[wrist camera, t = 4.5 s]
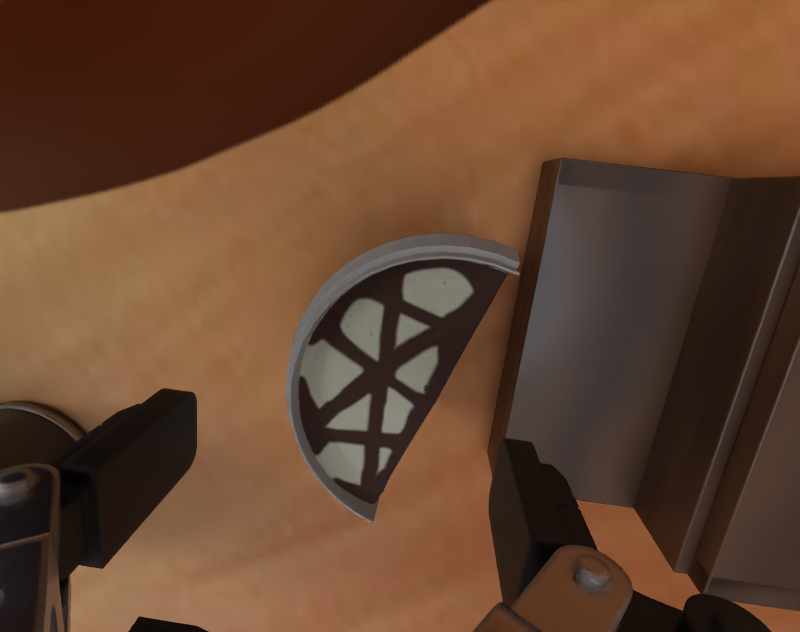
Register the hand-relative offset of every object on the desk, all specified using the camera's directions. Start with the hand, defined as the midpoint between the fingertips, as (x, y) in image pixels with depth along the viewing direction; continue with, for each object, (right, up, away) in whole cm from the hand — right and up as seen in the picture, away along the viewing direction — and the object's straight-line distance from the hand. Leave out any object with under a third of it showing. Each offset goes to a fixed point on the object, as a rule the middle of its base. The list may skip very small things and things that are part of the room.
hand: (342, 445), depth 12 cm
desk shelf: (+16, +2, +14) cm, 21 cm away
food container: (+1, +4, +14) cm, 15 cm away
